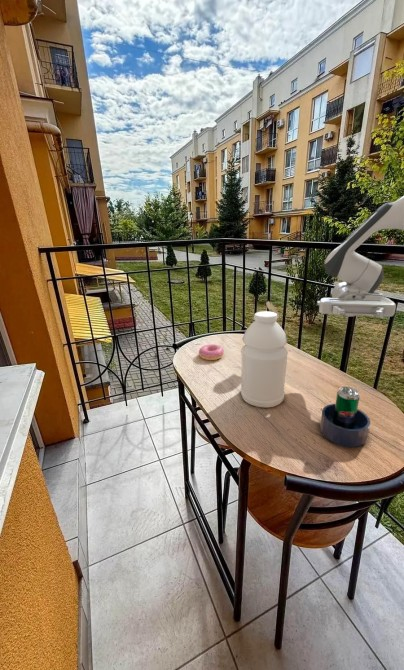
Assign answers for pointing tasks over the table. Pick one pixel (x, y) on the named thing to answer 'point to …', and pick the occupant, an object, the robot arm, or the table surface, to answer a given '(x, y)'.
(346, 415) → the soda can
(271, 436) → the table surface
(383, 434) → the table surface
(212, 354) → the doughnut
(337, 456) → the table surface
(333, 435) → the bowl
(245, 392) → the bottle
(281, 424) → the table surface
